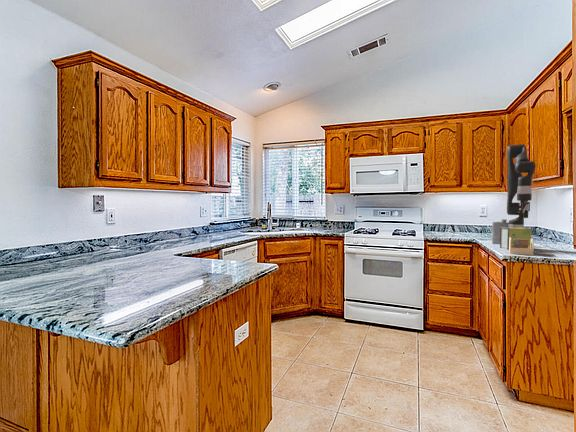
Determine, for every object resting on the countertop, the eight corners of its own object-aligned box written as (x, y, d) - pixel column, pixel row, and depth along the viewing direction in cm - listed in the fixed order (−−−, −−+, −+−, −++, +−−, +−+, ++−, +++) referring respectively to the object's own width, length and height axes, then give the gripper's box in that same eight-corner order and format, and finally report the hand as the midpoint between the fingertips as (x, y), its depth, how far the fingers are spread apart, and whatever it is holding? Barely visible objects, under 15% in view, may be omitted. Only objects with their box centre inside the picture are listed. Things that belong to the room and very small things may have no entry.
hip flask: (515, 245, 257) (516, 219, 256) (515, 245, 254) (516, 219, 253) (492, 243, 268) (492, 218, 267) (491, 243, 265) (492, 219, 264)
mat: (535, 253, 215) (535, 252, 215) (553, 255, 210) (553, 254, 210) (537, 256, 206) (537, 255, 206) (556, 257, 202) (556, 256, 202)
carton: (508, 251, 224) (509, 237, 224) (531, 253, 218) (531, 238, 217) (509, 254, 213) (510, 239, 212) (533, 256, 206) (533, 240, 206)
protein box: (531, 250, 228) (532, 228, 227) (508, 250, 228) (509, 228, 227) (520, 248, 238) (521, 227, 238) (499, 248, 239) (499, 227, 238)
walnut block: (513, 252, 219) (514, 238, 219) (526, 252, 215) (527, 239, 215) (514, 253, 215) (514, 239, 214) (527, 253, 211) (528, 239, 211)
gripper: (521, 193, 217) (520, 217, 218) (513, 193, 208) (512, 218, 210) (535, 192, 211) (534, 218, 212) (527, 193, 203) (526, 219, 204)
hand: (523, 218), depth 211 cm, fingers open, 8 cm apart
